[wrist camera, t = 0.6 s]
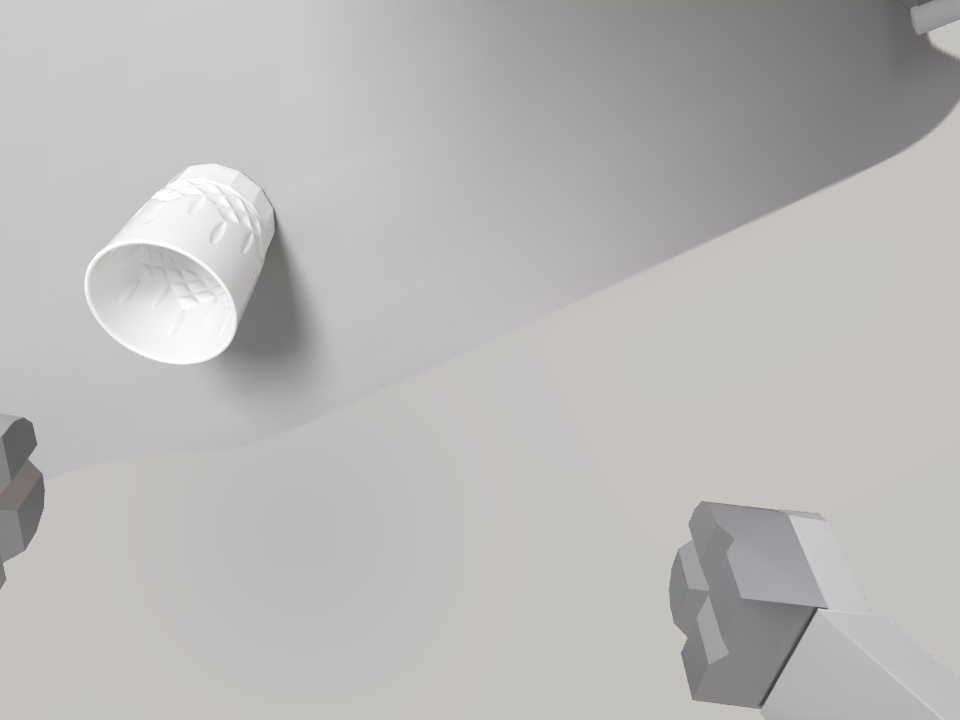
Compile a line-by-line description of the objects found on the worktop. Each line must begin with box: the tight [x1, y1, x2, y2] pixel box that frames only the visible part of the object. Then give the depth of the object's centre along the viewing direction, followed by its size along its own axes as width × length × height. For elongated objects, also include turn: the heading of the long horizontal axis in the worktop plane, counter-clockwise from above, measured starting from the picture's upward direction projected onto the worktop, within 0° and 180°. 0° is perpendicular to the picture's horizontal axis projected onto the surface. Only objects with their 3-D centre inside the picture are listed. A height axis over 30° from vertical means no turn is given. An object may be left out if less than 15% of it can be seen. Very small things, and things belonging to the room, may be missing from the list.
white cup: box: [84, 163, 275, 365], centre depth 47 cm, size 8×8×10 cm
